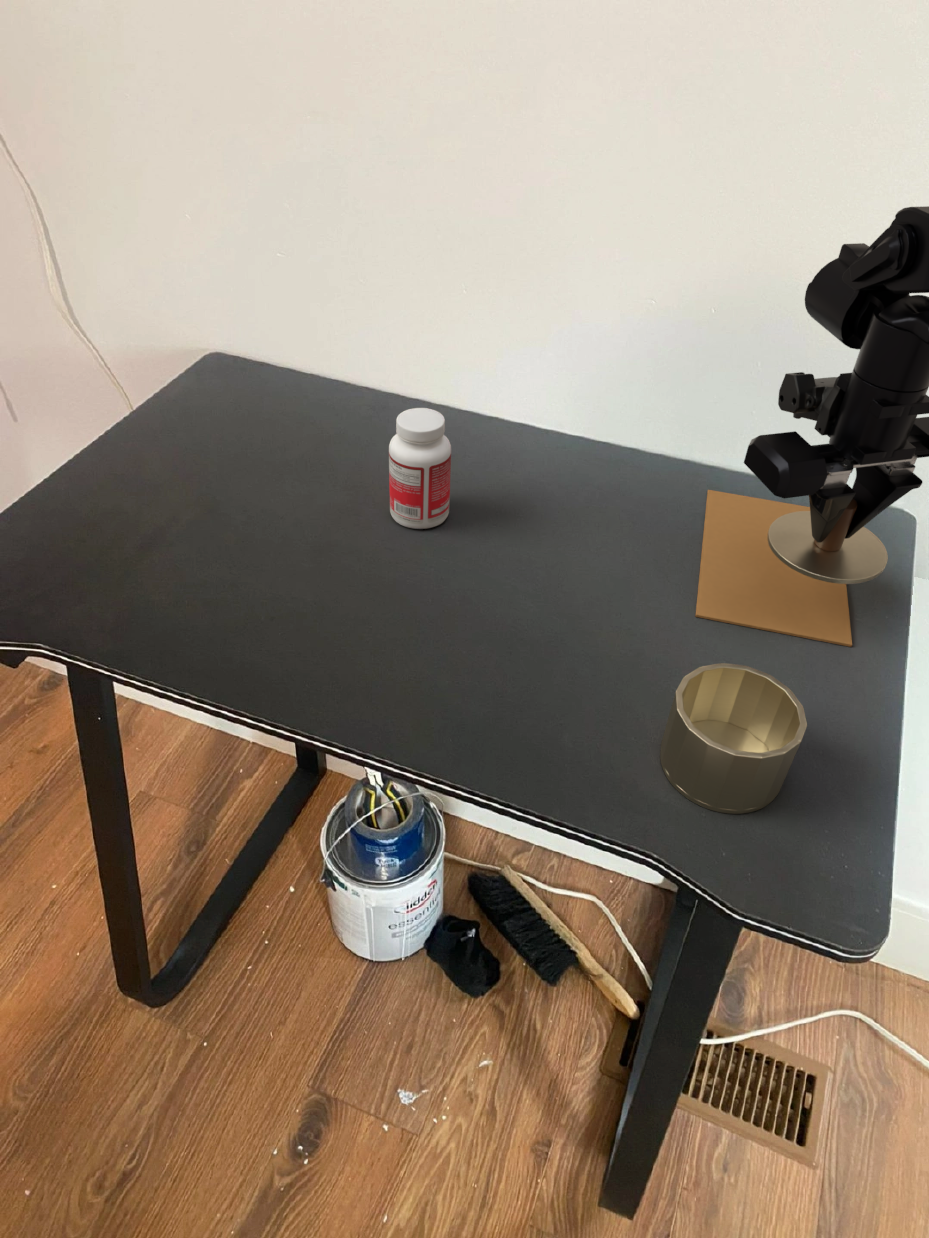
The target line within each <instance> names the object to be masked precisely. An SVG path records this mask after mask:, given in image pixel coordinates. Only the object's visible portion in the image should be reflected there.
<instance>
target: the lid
mask: <svg viewBox="0 0 929 1238" xmlns="http://www.w3.org/2000/svg"><path fill="white" fill-rule="evenodd" d="M856 509H857V502H856V501H855V500H854V499H852V500H851V502H850V503H849V505H848V506H847V508H846V509H845V511H844V512H843V514H842V515H841V517H840V518H839V520H838V521H837V523H836V524H835V526H834V527H833V529H832V530H831V532H830V533H829V534H828V536H827V537H826V538H825V539H824V540H823V542H819V543H818V542H817V541H816V540H815V539H814V538H813V536H812V528H811V515H810V511H799V512H793V513H789V514H785V515H783V516H781V517H779V518H777V519H776V520H775V521H774V522H773V523H772V524H771V526H770V528H769V531H768V535H767V539H768V544H769V547H770V548H771V550H772V552H773V553H774V554H775V556H776V557H777V558H778V559H779V560H780V561H782V562H783V563H784V564H785V565H787V566H788V567H790V568H791V569H793V570H795V571H797V572H799V573H801V574H803V575H805V576H808V577H811V578H814V579H817V580H820V581H825V582H830V583H837V584H846V585H855V584H856V585H857V584H861V583H866V582H869V581H872V580H874V579H876V578H878V577H879V576H880V575H881V574H883V572H884V570H885V568H886V567H887V564H888V560H889V559H888V557H889V556H888V555H889V554H888V552H887V548H886V546H885V544H884V543H883V542H882V540H880V538H879V537H878V536H877V535H876V534H874V532H872V531H871V530H870V529H869V528H867V527H865V526H863V527H862V528H861V529H860V530H859V531H857V532H856V533H855V534H854V535H852V536H851V537H850V538H847V539H845V537H846V534H847V532H848V529H849V526H850V524H851V521H852V519H853V516H854V514H855V511H856Z"/></svg>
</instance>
